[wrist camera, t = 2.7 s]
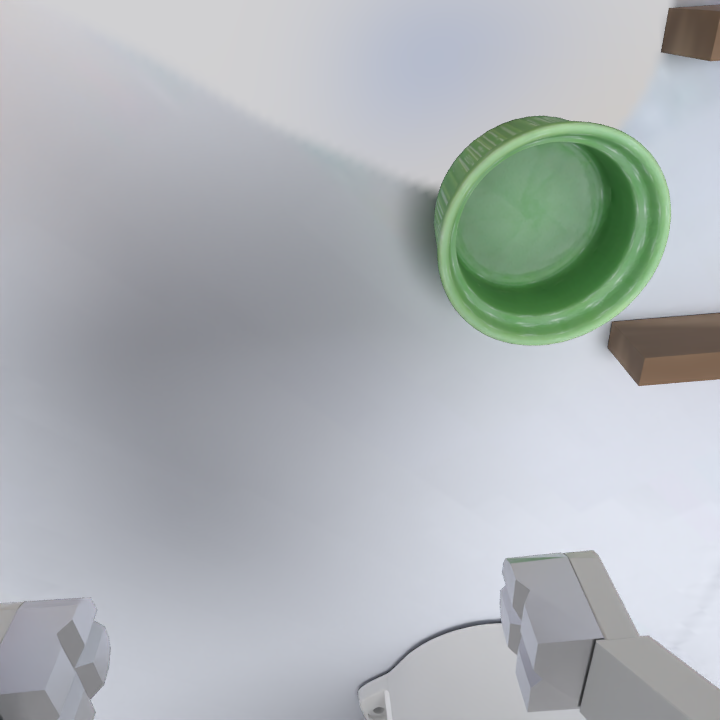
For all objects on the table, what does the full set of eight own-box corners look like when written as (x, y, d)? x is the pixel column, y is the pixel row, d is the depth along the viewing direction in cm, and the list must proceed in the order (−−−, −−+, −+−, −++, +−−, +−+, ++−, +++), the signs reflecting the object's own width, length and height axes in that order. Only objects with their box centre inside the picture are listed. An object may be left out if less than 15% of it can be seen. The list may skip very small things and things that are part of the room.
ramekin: (379, 214, 27) (389, 251, 23) (543, 50, 24) (585, 61, 20) (504, 335, 30) (531, 383, 27) (660, 205, 27) (715, 240, 24)
